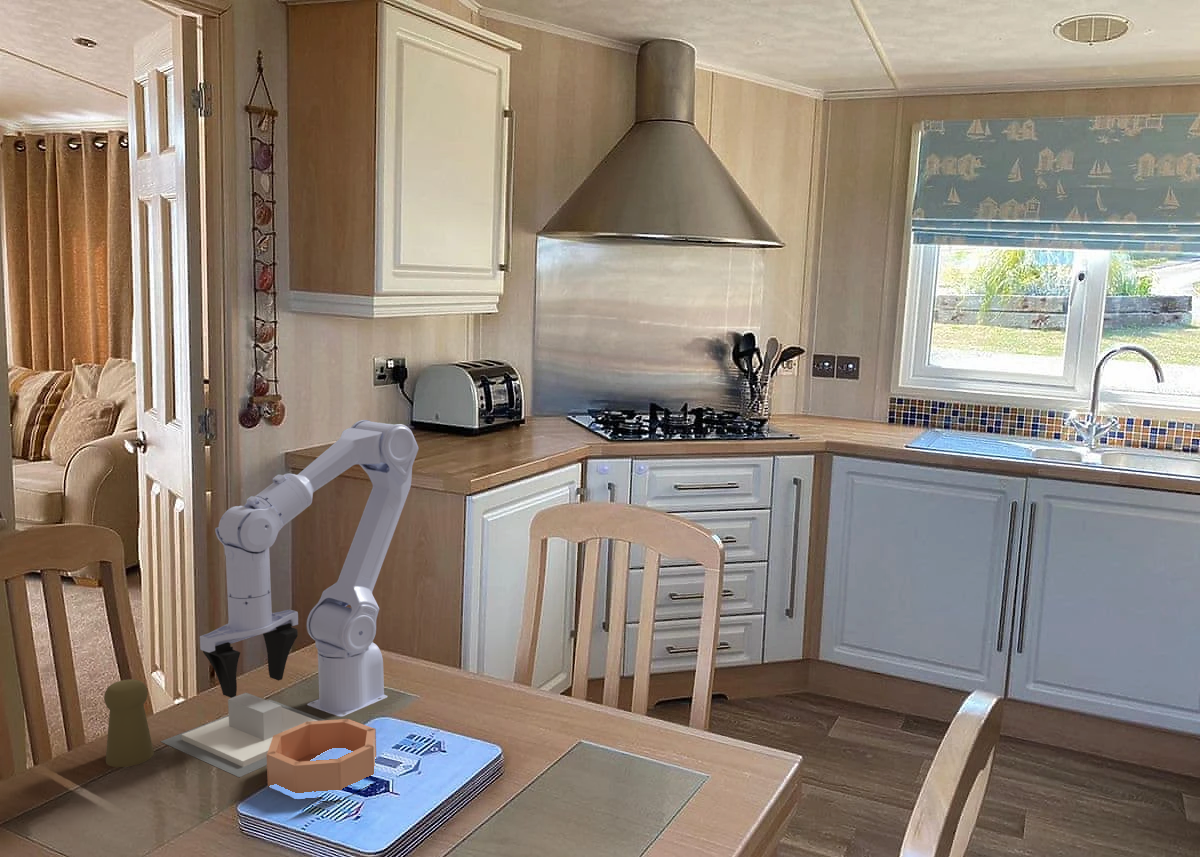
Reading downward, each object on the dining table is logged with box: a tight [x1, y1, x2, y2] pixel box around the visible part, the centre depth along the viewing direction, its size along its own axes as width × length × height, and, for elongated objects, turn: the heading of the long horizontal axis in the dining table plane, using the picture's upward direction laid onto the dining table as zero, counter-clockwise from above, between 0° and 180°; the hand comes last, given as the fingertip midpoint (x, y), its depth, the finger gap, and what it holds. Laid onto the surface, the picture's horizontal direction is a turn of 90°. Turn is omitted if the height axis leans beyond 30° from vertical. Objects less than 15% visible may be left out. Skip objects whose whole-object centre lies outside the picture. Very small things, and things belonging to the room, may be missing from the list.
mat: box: [160, 699, 325, 778], centre depth 141 cm, size 18×18×1 cm
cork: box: [103, 678, 155, 768], centre depth 133 cm, size 6×6×11 cm
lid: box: [182, 692, 317, 767], centre depth 140 cm, size 14×14×5 cm
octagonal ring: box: [266, 718, 377, 793], centre depth 129 cm, size 13×13×5 cm
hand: (253, 686), depth 140 cm, fingers open, 7 cm apart
